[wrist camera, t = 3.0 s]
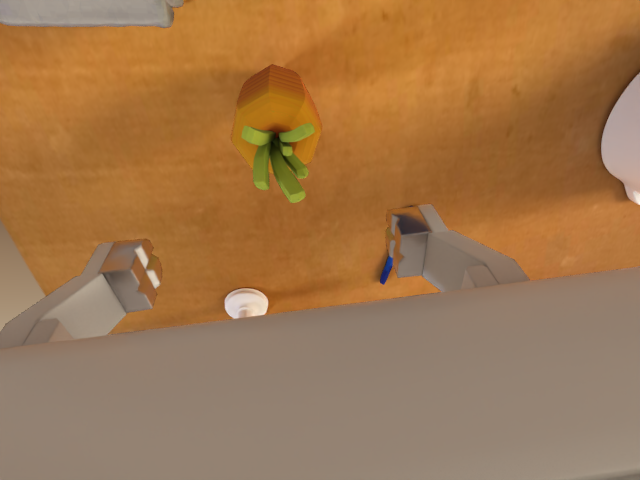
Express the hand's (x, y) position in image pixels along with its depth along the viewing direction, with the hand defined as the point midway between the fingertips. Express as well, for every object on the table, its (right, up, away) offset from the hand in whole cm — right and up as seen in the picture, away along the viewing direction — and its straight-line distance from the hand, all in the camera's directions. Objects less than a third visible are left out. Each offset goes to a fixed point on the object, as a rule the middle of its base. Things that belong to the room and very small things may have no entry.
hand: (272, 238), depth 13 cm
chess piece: (-7, -7, +30) cm, 32 cm away
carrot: (-2, +12, +15) cm, 19 cm away
